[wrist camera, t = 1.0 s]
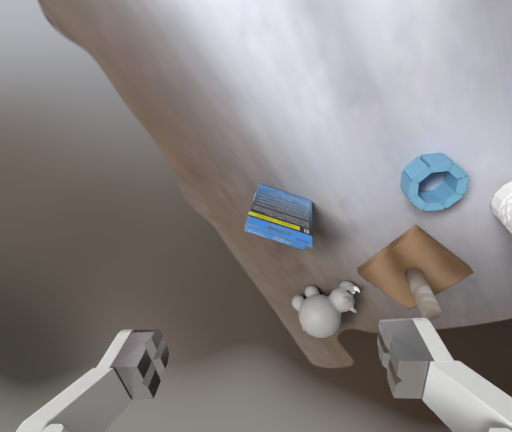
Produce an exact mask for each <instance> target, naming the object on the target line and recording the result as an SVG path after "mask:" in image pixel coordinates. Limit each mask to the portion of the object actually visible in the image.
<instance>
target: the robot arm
mask: <svg viewBox="0 0 512 432" xmlns="http://www.w3.org/2000/svg"><path fill="white" fill-rule="evenodd" d="M378 328H379V331H380V333H381V334H380V335H379V336H378V342H377V344H378V352H379V355H380V359H381V362H382V365H383V366H384V367H385V368H386V369H387V370H388V372H387V379H388V382H389V385H390V388H391V390H392V393H393V396H394V398H415V399H416V398H417V399H422V400H423V401H424V402H425V403H426V404H427V406H428V407H429V408H430V409H432V411H433V412H434V413H435V414H436V415H437V416H438V417H439V418H440V419H441V420H442V421H443V422H444V423H445V424H446V425H447V426H448V427H449V428H450V429H451V430H452V431H453V432H512V398H511V397H510V396H509V395H507V394H506V393H504V392H503V391H502V390H500V389H499V388H497V387H496V386H494V385H493V384H492V383H490V382H489V381H487V380H486V379H484V378H483V377H482V376H480V375H479V374H477V373H476V372H474V371H473V370H472V369H470V368H468V367H467V366H466V365H464V364H463V363H462V362H460V361H454V360H453V358H452V357H451V355H450V353H449V352H448V350H447V348H446V347H445V345H444V343H443V342H442V340H441V339H440V337H439V335H438V334H437V332H436V330H435V329H434V327H433V325H432V324H431V322H430V321H429V320H428V319H427V318H410V319H409V318H404V319H385V320H380V321H379V325H378ZM162 337H163V334H162V332H161V330H160V329H138V330H137V329H134V330H122V331H120V332H119V333H118V334H117V336H116V338H115V339H114V341H113V342H112V344H111V345H110V347H109V349H108V350H107V352H106V353H105V355H104V357H103V358H102V360H101V361H100V363H99V365H98V366H97V368H93V369H91V370H90V371H89V372H87V373H86V374H85V375H83V376H82V377H81V378H79V379H78V380H77V381H76V382H74V383H73V384H72V385H70V386H69V387H68V388H66V389H65V390H64V391H63V392H61V393H60V394H59V395H57V396H56V397H55V398H53V399H52V400H51V401H50V402H48V403H47V404H46V405H44V406H43V407H42V408H41V409H39V410H38V411H37V412H35V413H34V414H33V415H31V416H30V417H29V418H27V419H26V420H25V421H24V422H23V423H22V424H21V425H20V427H19V428H18V429H17V431H16V432H105V431H106V430H107V428H108V427H109V426H110V425H111V424H112V423H113V422H114V421H115V420H116V418H117V417H118V416H119V415H120V414H121V413H122V412H123V411H124V410H125V408H126V407H127V406H128V405H129V404H130V403H131V402H132V400H139V399H154V397H155V394H156V392H157V389H158V387H159V384H160V382H161V380H160V376H159V375H160V374H161V373H162V372H163V371H164V370H165V369H166V366H167V363H168V359H169V349H168V346H167V343H165V342H164V341H162Z"/></svg>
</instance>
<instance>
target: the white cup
mask: <svg viewBox="0 0 512 432" xmlns="http://www.w3.org/2000/svg"><path fill="white" fill-rule="evenodd" d="M491 208H492V212H493V214H494V215H495V216H496V217H497V218H498V219H499V220H500V221H501V222H502V223H503V225H504V226H505V227H506V229H507V230H508V231H509V232H510V233H511V234H512V181H511V182H509V183H507V184H505V185H503V186H502V187H501V188H500V189H499V190H498V191H497V192H496V193H495V194H494V196H493V199H492V201H491Z"/></svg>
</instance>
